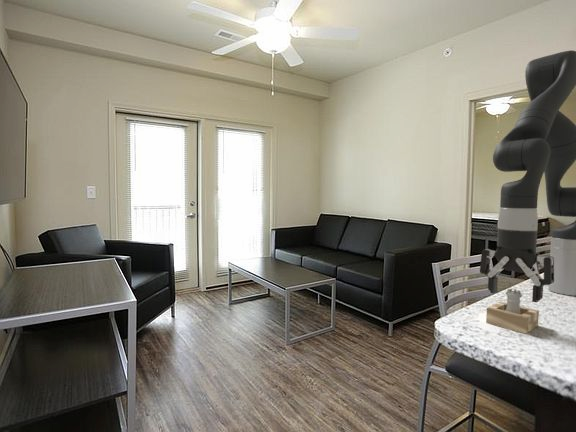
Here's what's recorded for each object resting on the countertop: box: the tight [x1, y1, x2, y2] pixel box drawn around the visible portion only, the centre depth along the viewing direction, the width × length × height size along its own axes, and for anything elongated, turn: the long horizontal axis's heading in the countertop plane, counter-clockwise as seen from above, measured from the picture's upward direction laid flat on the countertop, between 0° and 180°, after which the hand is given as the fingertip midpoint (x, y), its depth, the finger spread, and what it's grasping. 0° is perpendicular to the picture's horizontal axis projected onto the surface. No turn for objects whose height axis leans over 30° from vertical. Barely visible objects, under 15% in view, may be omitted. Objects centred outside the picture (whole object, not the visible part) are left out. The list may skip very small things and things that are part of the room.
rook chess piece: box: [505, 288, 523, 314], centre depth 78 cm, size 4×4×8 cm
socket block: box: [485, 301, 540, 334], centre depth 78 cm, size 8×8×4 cm
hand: (513, 297), depth 78 cm, fingers open, 8 cm apart
